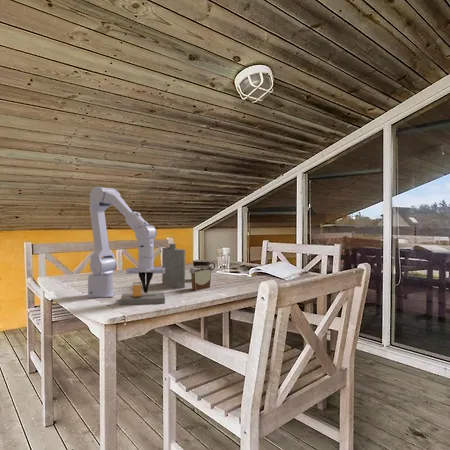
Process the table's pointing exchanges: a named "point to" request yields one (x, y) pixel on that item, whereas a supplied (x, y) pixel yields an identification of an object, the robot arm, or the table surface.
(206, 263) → the coffee mug
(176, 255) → the hip flask
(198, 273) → the food container
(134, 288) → the knob
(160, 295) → the panel
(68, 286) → the table surface
